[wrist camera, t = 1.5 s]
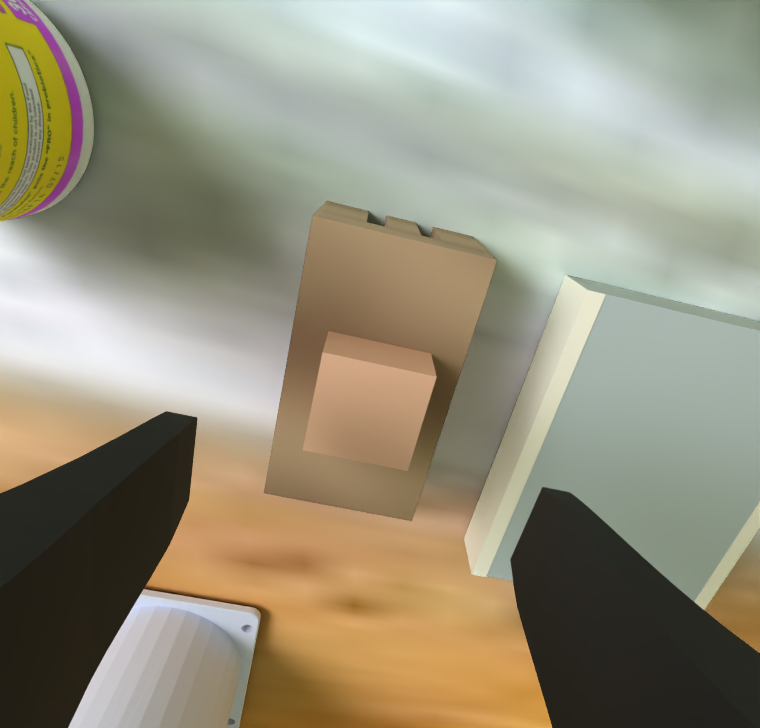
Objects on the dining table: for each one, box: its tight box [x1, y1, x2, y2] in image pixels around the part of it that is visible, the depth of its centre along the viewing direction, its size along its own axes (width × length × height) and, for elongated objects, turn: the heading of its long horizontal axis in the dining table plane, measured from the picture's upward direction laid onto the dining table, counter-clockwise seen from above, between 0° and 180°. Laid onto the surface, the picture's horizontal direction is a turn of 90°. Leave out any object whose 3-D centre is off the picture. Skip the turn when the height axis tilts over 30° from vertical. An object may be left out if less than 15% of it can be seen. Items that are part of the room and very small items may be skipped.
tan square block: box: [303, 331, 437, 471], centre depth 14 cm, size 3×3×2 cm
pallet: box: [264, 201, 497, 521], centre depth 17 cm, size 9×5×4 cm, turn 167°
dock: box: [464, 275, 760, 610], centre depth 19 cm, size 12×10×2 cm
